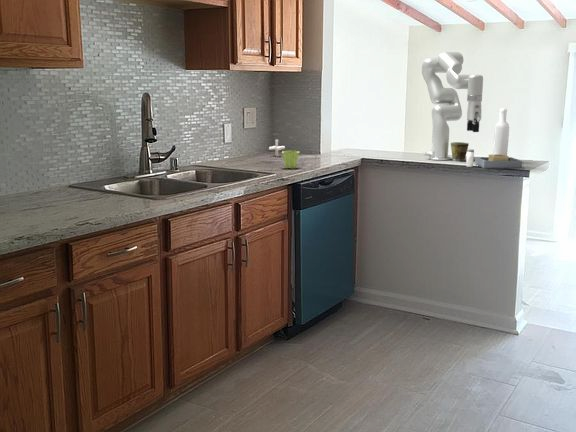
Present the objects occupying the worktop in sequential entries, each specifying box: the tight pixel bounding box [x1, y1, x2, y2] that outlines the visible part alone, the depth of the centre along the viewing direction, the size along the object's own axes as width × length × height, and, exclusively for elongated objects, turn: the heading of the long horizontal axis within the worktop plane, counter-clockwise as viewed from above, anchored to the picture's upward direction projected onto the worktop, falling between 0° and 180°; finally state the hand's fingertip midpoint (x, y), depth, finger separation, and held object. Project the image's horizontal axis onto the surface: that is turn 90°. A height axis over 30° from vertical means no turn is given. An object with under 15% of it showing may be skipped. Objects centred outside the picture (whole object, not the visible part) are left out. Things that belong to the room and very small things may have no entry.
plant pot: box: [281, 150, 300, 169], centre depth 331 cm, size 9×9×9 cm
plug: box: [465, 148, 475, 168], centre depth 336 cm, size 4×4×9 cm
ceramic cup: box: [450, 141, 469, 162], centre depth 358 cm, size 13×10×10 cm
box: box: [474, 154, 523, 170], centre depth 335 cm, size 20×16×6 cm
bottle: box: [492, 107, 510, 156], centre depth 350 cm, size 8×8×30 cm
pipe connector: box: [268, 139, 286, 157], centre depth 379 cm, size 10×10×10 cm
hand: (472, 131), depth 333 cm, fingers open, 9 cm apart
